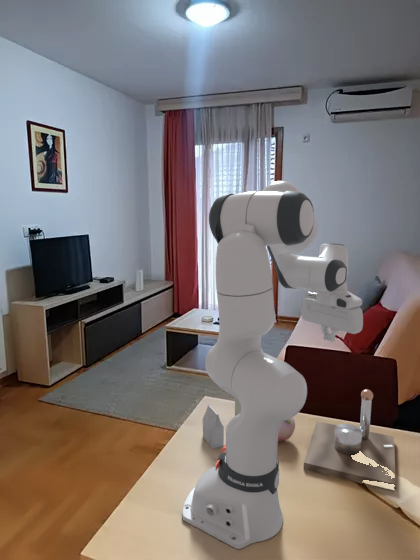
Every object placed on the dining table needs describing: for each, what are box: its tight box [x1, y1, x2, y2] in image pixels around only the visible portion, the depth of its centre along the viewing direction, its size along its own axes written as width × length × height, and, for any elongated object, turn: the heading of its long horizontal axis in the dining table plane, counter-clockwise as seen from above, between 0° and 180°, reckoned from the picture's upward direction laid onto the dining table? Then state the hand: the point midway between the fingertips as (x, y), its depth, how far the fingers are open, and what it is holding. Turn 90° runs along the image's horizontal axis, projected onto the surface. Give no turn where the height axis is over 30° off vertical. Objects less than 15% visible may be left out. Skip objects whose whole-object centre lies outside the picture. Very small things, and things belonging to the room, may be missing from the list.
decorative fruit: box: [278, 417, 296, 442], centre depth 120 cm, size 9×8×10 cm
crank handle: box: [334, 388, 374, 455], centre depth 113 cm, size 13×7×15 cm, turn 127°
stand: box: [303, 421, 397, 486], centre depth 113 cm, size 22×22×2 cm
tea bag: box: [202, 404, 225, 450], centre depth 119 cm, size 4×7×10 cm, turn 24°
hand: (329, 340), depth 126 cm, fingers closed
